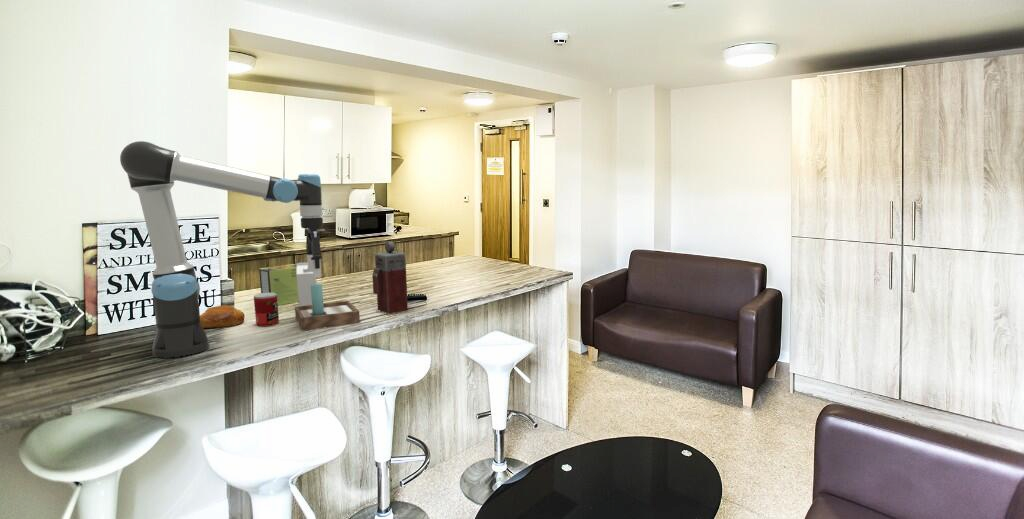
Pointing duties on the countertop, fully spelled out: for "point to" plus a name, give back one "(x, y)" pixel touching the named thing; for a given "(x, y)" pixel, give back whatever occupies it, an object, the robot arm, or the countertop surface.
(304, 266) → the milk carton
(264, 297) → the canned food
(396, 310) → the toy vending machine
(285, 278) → the protein box
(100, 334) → the countertop surface
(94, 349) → the countertop surface
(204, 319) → the croissant
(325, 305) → the box
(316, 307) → the peg
